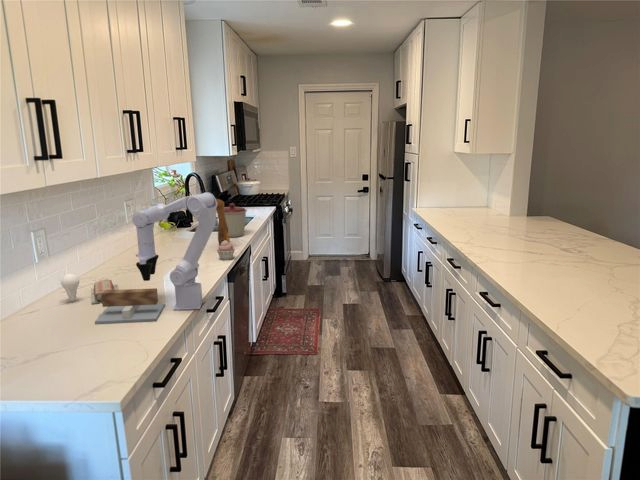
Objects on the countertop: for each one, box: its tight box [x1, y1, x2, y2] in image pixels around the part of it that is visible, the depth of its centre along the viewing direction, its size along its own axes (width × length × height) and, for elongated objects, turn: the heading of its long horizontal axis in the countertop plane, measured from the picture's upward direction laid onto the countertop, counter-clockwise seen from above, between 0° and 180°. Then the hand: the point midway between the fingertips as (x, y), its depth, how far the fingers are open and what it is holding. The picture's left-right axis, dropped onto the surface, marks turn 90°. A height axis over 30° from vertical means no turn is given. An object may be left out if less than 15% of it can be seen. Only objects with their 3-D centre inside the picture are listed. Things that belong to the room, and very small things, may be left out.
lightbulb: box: [60, 273, 80, 302], centre depth 167 cm, size 6×6×11 cm
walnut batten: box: [101, 287, 159, 308], centre depth 154 cm, size 18×3×5 cm, turn 98°
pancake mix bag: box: [215, 197, 231, 247], centre depth 247 cm, size 7×19×28 cm, turn 22°
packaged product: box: [90, 278, 119, 305], centre depth 174 cm, size 18×5×10 cm
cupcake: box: [216, 240, 236, 261], centre depth 226 cm, size 9×9×10 cm
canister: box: [224, 202, 248, 238], centre depth 276 cm, size 18×18×21 cm
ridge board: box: [94, 303, 166, 325], centre depth 155 cm, size 20×14×4 cm
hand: (149, 277), depth 166 cm, fingers open, 7 cm apart
